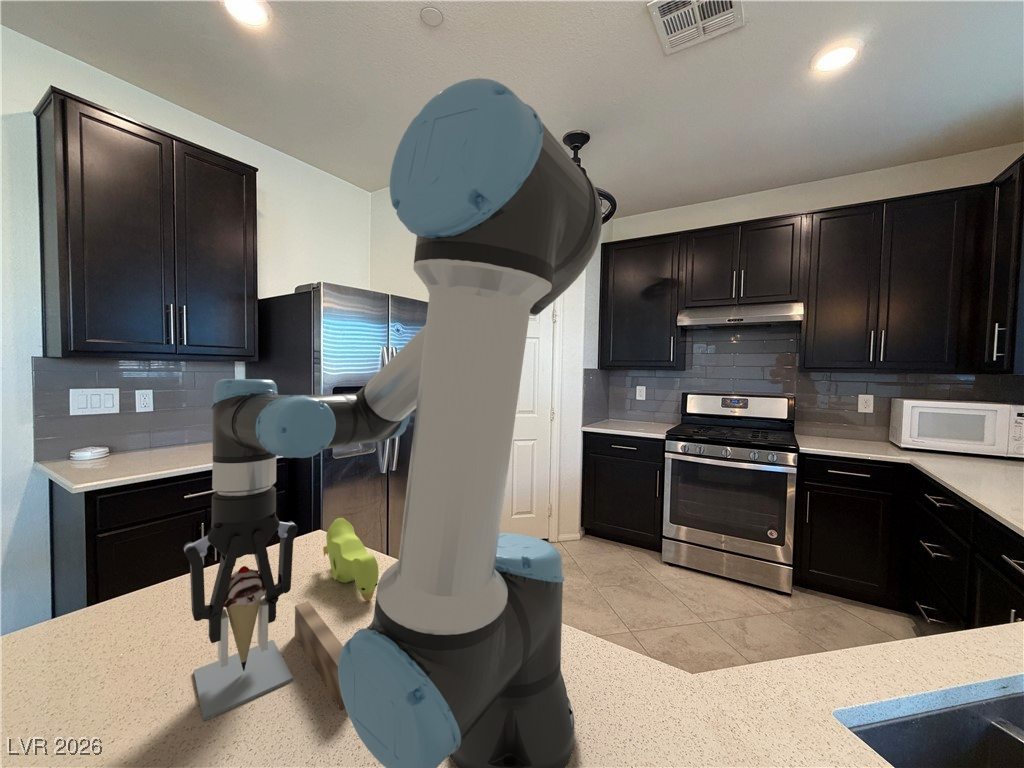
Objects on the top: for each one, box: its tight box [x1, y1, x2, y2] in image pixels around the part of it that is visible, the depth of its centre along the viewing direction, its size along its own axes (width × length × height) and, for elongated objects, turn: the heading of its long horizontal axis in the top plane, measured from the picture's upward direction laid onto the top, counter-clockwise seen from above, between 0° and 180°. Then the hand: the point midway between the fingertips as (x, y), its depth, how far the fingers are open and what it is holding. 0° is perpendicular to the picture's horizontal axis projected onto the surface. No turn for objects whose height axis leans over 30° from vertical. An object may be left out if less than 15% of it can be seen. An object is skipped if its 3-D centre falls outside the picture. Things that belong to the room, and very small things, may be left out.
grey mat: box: [193, 639, 294, 722], centre depth 57 cm, size 11×10×1 cm
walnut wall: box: [294, 600, 346, 710], centre depth 59 cm, size 20×2×5 cm, turn 43°
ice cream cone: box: [222, 565, 266, 671], centre depth 56 cm, size 6×6×15 cm
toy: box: [322, 517, 379, 602], centre depth 83 cm, size 6×17×20 cm
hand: (243, 652), depth 57 cm, fingers closed on ice cream cone, 4 cm apart
